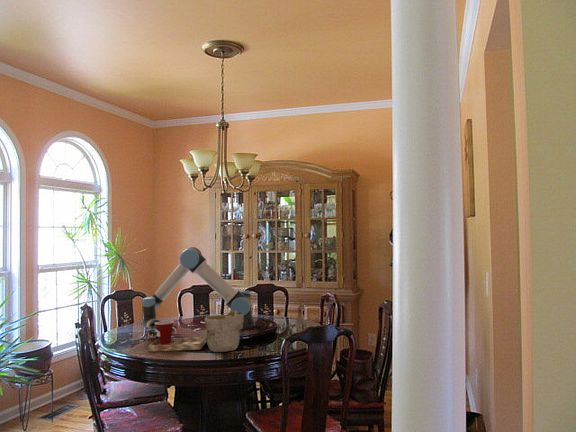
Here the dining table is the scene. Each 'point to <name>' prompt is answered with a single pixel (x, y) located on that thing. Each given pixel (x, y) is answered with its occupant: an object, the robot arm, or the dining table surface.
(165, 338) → the plastic cup
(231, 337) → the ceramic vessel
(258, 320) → the dining table surface
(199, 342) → the wooden compartment tray
